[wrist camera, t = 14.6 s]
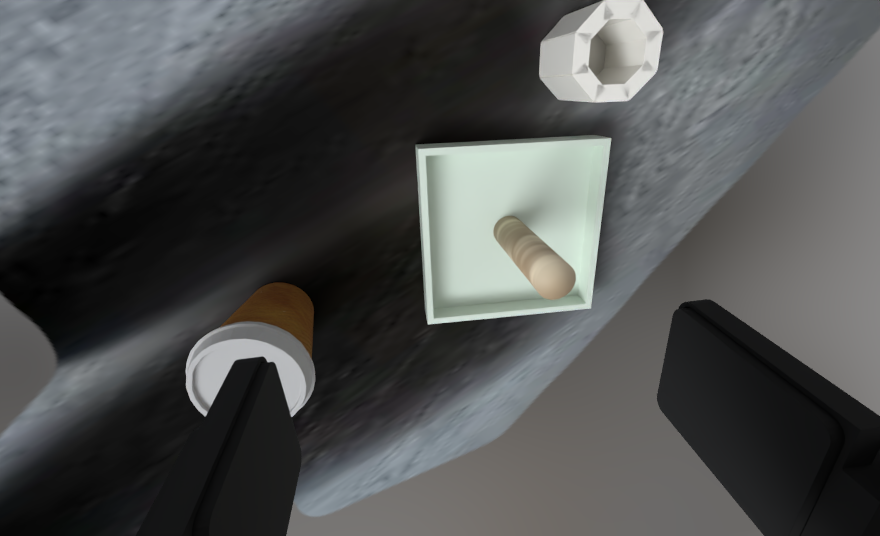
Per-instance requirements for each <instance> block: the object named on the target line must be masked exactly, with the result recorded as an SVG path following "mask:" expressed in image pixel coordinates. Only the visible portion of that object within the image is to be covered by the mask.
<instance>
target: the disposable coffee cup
mask: <svg viewBox="0 0 880 536" xmlns="http://www.w3.org/2000/svg"><path fill="white" fill-rule="evenodd" d="M313 317H314V307H313V304H312V301H311V300H310V298H309V297H308V295H307V294H306V293H305V292H304V291H303V290H301V289H300V288H298V287H296V286H294V285H291V284H288V283H270V284H267V285H264V286H263V287H261V288H259V289H258V290H257V291H256V292H255V293H254V294H253V295H252V296H251V297H250V298H249V299H248V300H247V301H246V302H245V303H244V304H243V305H242V306H241V307H240V308H239V309H238V310H237V311H236V312H235V313H234V314H233V315H232V316H231V317H230V318H229V319H228V320H227V321H226V322H225V323H224V324H223V325H222V326H220V327H219V328H218V329H215V330H213V331H211V332H210V333H208V334H207V335H205V336H204V337H203V338H201V339H200V340H199V341H198V342H197V344H196V345H195V346H194V348H193V349H192V350H191V352H190V354H189V357H188V360H187V364H186V376H187V378H186V388H187V391H188V394H189V397H190V400H191V401H192V403H193V404H194V405H195V407H196V408H197V409H198V410H199V411H200V412H201V413H202V414H203V415H204V416H205V417H206V415H207V413H208V411H209V409H210V407H211V405H212V403H213V401H214V399H215V397H216V395H217V393H218V392H219V390H220V388H221V386H222V384H223V382H224V380H225V378H226V376H227V374H228V372H229V370H230V368H231V366H232V365H233V363H234V362H235V361H236V360H238V359H246V358H254V357H262V356H263V357H265V358H266V360H267V362H274V363H275V364H276V367H277V370H278V373H279V377H280V380H281V384H282V387H283V390H284V394H285V397H286V401H287V404H288V407H289V411H290V414H291V417H292V416H294V414H295V413H296V412H297V411H298V410H299V409H300V408H301V407H302V406H303V405H305V403H306V402H307V400H308V399H309V398H310V396H311V393H312V391H313V389H314V383H315V369H314V365H313V362H312V359H311V358H312V338H313Z"/></svg>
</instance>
